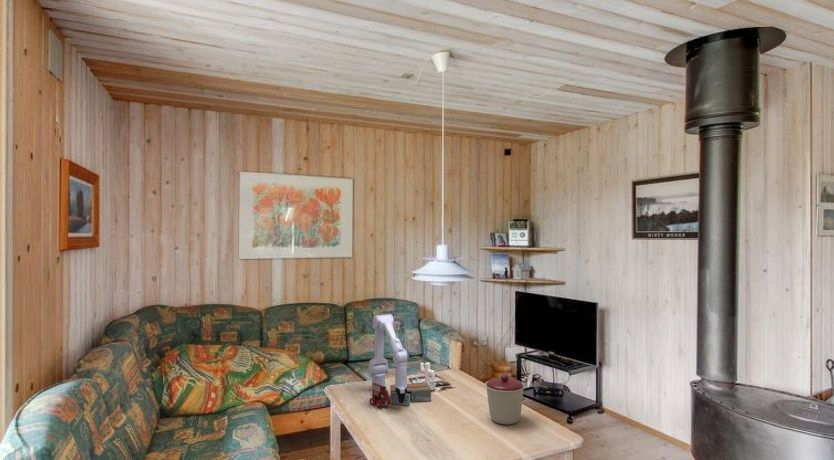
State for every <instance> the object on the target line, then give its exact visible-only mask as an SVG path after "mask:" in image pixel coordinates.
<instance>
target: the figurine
mask: <svg viewBox="0 0 834 460" xmlns="http://www.w3.org/2000/svg"><path fill="white" fill-rule="evenodd" d="M419 365H420V366H419V370H420V373H421V374H424V381H422V382H421V383H428V385H429V387H430V390H432V391H433V390H434V389H435V387H436V386H437V384H438V383H437V382H434V381H435V380H436V372H435V370H433V369H431V362H429V361H428V362H427V361H426V362H425V363H424V362H420V364H419Z"/></svg>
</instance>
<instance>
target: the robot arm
mask: <svg viewBox="0 0 834 460" xmlns="http://www.w3.org/2000/svg"><path fill="white" fill-rule="evenodd" d="M394 324H395V323H394V316H393V315H392V314H391V313H389V314H380V315H379V314H378V315H373V317H372V329H374V357H373V358H372V359H370V360H369V362H368V367H367V368H368V374H369V375H370V377H371V385H372V384H373V383H376V384H379V385H382V386H385V387H386V376H387V374H388V372H389V365H388V360H387V359H386V358H385V357H384V354H385V353H384V349H385V334H386V335H387V338H388V340H389V343H388V345H389V347H390V350H391V351H392V360H393V361H392V362H393V366H394V379H395V380H394V382H395V383H393V384H392V385H393V387H396V388H395V390H396V393H397V395H398V401H399V404H398V405H400V404H401V403H404V398H405V394H406V392H407V388H406V387H407V384H408V379H407V378H408V377H407V376H408V375H407V372H408V371H407V369H408V368H407V365H408V364H407V363H408V362H409V357H410V356H409V353H408V351H407V350H406V348H404V347H403V343H402V342H401V339H399V338H398V337H397V335H396V332H395V328H394ZM370 394H371V395H372V387H370Z"/></svg>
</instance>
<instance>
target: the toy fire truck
mask: <svg viewBox="0 0 834 460" xmlns="http://www.w3.org/2000/svg"><path fill="white" fill-rule="evenodd" d="M371 388H372V394H371V397H370V398H369V405H370V406H371V407H376V408H377V409H378V410H380V409H381V410H382V408H383V406H385V407H389V406H391V404H392V401H391V397H390V395H389V392H388V390H387V387H386V385H385V386H382V385H379V384H376V383H373V384H372V383H371Z"/></svg>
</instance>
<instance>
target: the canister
mask: <svg viewBox="0 0 834 460" xmlns="http://www.w3.org/2000/svg"><path fill="white" fill-rule="evenodd" d="M484 386H485V388H486V395H487V404H488V409H489V410H488V411H489V415H490V418H491V420H492V421H493V422H494V423H496V424H500V425H505V426H508V425H514V424H516V423H518V422H519V421H520V418H521V415H522V407H523V399H524V398H523V396H524V390H525V388H526V384H525V383H523V382H522V381H520V380H519V379H516V378H513V377H509V375H508V374H506V373H504V374H501V375H500V376H499V377H493V378H490V379H489V380H487V381H486V382H485V383H484Z"/></svg>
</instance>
